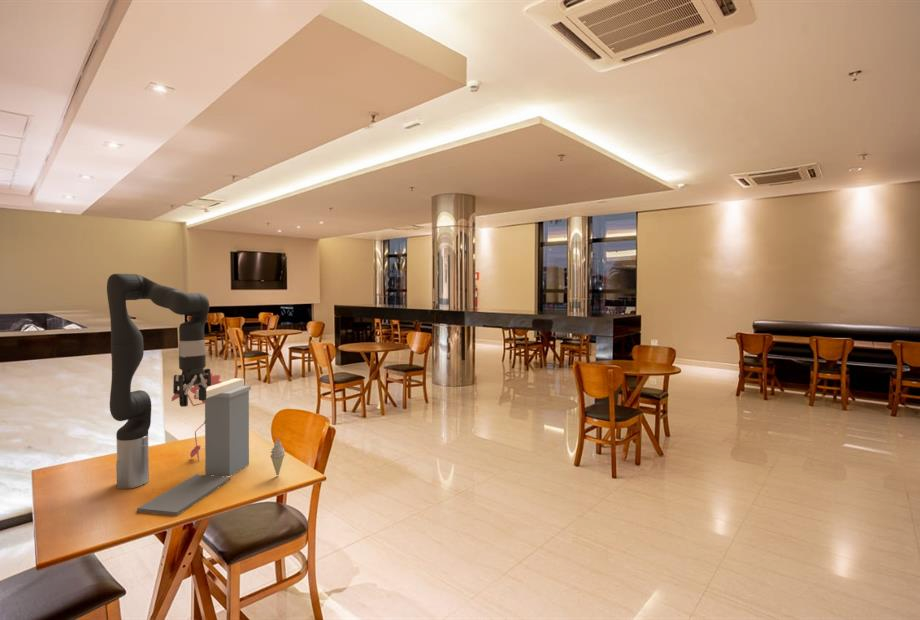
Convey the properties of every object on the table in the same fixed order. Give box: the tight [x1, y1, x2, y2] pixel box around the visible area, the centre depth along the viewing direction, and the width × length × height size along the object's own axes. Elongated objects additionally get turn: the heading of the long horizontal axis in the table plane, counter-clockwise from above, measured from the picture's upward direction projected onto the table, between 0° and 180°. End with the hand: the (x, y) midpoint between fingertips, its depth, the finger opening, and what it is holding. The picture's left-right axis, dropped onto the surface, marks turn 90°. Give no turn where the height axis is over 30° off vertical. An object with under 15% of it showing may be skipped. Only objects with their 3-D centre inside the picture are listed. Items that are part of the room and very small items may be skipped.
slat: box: [196, 377, 245, 398], centre depth 170 cm, size 22×4×2 cm, turn 172°
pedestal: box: [204, 385, 252, 477], centre depth 174 cm, size 13×11×32 cm
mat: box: [136, 473, 231, 517], centre depth 154 cm, size 26×14×1 cm, turn 172°
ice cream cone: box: [270, 437, 286, 476], centre depth 170 cm, size 5×5×15 cm
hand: (193, 403), depth 147 cm, fingers open, 8 cm apart
